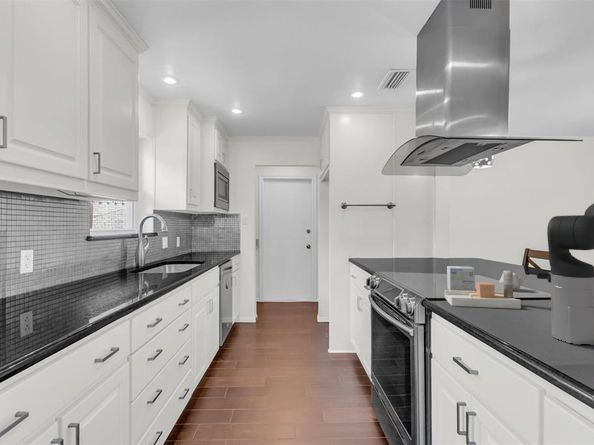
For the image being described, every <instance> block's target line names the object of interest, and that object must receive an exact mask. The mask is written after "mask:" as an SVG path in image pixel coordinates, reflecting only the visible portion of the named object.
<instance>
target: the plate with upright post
mask: <svg viewBox="0 0 594 445" xmlns="http://www.w3.org/2000/svg"><path fill="white" fill-rule="evenodd" d="M513 273H514V272H513V270H509V269H508V270H503V272H502V274H504V287H503V292H504V294H495V298H492V299H516V298H515V297H514V291H513ZM469 296H470V297H472V298H482V297H479V296H478V295H476V293H469Z"/></svg>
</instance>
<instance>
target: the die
mask: <svg viewBox="0 0 594 445" xmlns="http://www.w3.org/2000/svg"><path fill="white" fill-rule="evenodd" d="M523 282H524V280H523V279H522V278H521V277H520V276H519V275H518V274H517V273H515V272H513V290H514V291H519V290H520V288H521V285H522V284H523ZM498 283H499V284H500V285H501V287H503V288H504V274H503V273H502V274H501V277H500V279H499V282H498Z"/></svg>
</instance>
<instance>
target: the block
mask: <svg viewBox="0 0 594 445" xmlns="http://www.w3.org/2000/svg"><path fill="white" fill-rule="evenodd" d="M475 291H476V295H478V296H479V297H482V298H495V292H496V289H495V284H493V283H492V282H485V281H483V282H482V281H475Z"/></svg>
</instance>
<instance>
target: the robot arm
mask: <svg viewBox="0 0 594 445" xmlns="http://www.w3.org/2000/svg"><path fill="white" fill-rule="evenodd" d="M546 234H547V246H548V262H549V266H550V271H547V272H537V273H536V279H537V280H538V279H540V280H547V282H548V283H550V299H551V300H550V301H551V302H550V305H551V306H550V307H551V310H550V311H551V337H553V338H554V339H556V340H558V339H559V341H561V340H562V342H565V341H566V343H568V344H569V343H573V344H572V345H581V344H591V345H590V346H594V265H593V264H590V263H588V262H585V261H582V260H580V259H578V258H576V257H575V256H574V255H572V254H571V252H570V250H572V251H591V250H594V202H593V203H591V205H589V206H588V207H587V208H586V209H585V211H584V214H583V215H581V214H580V215H576V214H574V215H573V214H571V215H556V216H553V217H551V219H549V222H548V224H547V232H546Z"/></svg>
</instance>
